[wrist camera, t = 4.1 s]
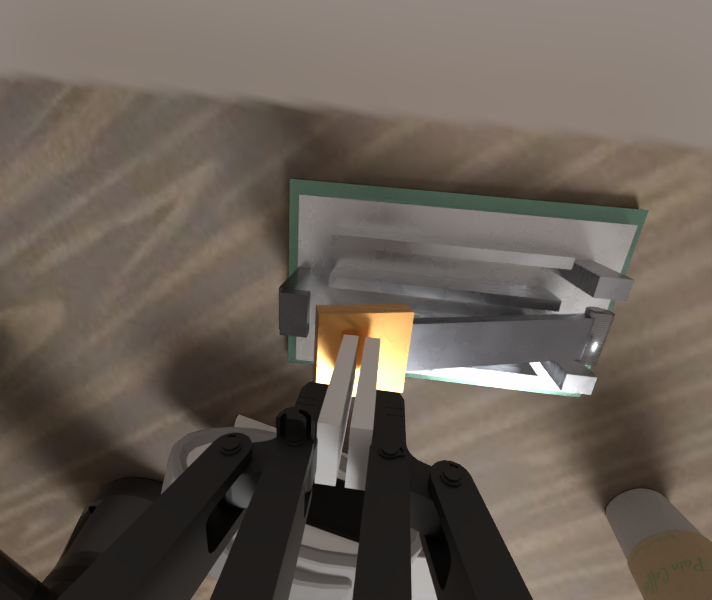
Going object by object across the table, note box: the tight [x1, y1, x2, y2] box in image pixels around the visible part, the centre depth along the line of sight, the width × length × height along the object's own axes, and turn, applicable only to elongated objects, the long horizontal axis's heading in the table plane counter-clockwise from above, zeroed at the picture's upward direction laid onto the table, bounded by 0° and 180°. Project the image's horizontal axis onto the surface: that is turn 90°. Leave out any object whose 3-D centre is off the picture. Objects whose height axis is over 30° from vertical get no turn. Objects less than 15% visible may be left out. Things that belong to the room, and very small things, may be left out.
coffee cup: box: [606, 488, 712, 600], centre depth 29 cm, size 9×9×15 cm
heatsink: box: [279, 178, 649, 397], centre depth 26 cm, size 26×16×8 cm, turn 86°
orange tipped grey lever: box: [313, 304, 615, 397], centre depth 21 cm, size 19×5×2 cm, turn 85°
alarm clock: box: [161, 415, 422, 600], centre depth 32 cm, size 23×6×13 cm, turn 70°
